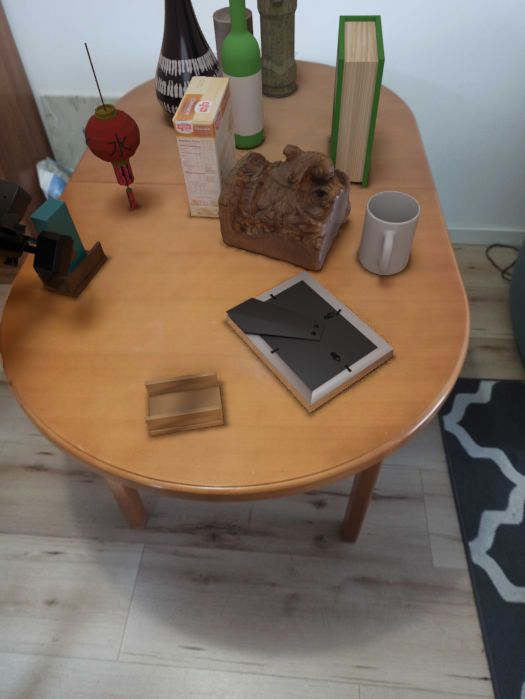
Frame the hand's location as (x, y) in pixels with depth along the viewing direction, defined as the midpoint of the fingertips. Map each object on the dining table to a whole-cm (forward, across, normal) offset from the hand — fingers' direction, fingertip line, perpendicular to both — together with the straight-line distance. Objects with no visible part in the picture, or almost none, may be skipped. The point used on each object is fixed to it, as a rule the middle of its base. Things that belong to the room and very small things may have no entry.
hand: (51, 248), depth 81 cm
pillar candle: (+62, +2, -51) cm, 80 cm away
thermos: (+58, -12, -48) cm, 76 cm away
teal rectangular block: (+7, 0, +3) cm, 7 cm away
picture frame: (+7, -43, +4) cm, 44 cm away
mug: (+21, -50, -10) cm, 55 cm away
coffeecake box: (+28, -14, -16) cm, 35 cm away
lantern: (+21, 0, -10) cm, 23 cm away
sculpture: (+23, -32, -12) cm, 41 cm away
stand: (-6, -31, +17) cm, 35 cm away
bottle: (+42, -13, -30) cm, 53 cm away
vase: (+46, +3, -35) cm, 57 cm away
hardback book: (+41, -36, -30) cm, 62 cm away
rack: (+7, 0, +4) cm, 8 cm away
